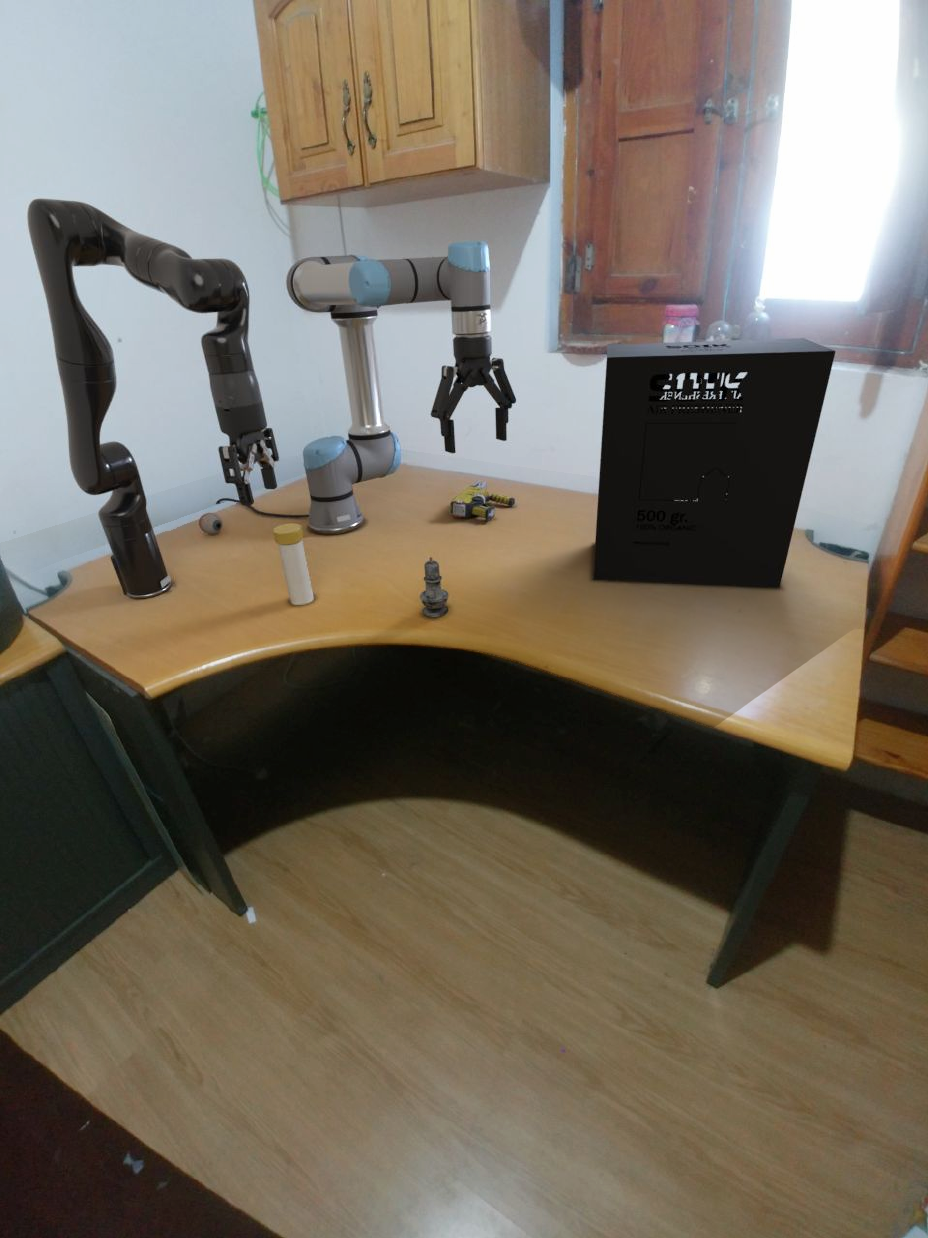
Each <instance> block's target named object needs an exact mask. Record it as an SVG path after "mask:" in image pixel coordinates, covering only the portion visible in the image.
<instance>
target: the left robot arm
mask: <svg viewBox="0 0 928 1238" xmlns="http://www.w3.org/2000/svg"><path fill="white" fill-rule="evenodd" d="M26 217H27V218H26V219H27V228H28V234H29V238H30V242H31V245H32V251H33V254H34V257H35V258H34V259H35V261H36V265H37V269H38V274H39V276H40V281H41V284H42V288H43V292H44V296H45V299H46V304H47V310H48V315H49V316H48V317H49V321H50V327H51V332H52V339H53V346H54V352H55V359H56V365H57V370H58V377H59V380H60V386H61V391H62V395H63V402H64V403H63V404H64V409H65V416H66V425H67V441H68V442H67V443H68V444H67V445H68V456H69V459H68V460H69V463H70V464H69V465H70V470H71V473H72V476H73V478H74V480H75V483H76V484H77V486H78V487H79V489H80V490H81V491H83V492H84V493H85V494H87V495H90V496H100V495H105V494H106V493H110V492H111V495H110V497H109V499H108V500H107V501H106V502H105V504H103V505H102V506H101V507H100V509H99V510H98V513H97V514H98V518H99V521H100V524H101V527H102V529H103V532H104V535H105V537H106V540H107V542H108V545H109V547H110V550H111V553H112V555H110V561H111V563H112V566H113V568H114V571H115V574H116V577H117V580H118V582H119V585H120V587H121V590H122V593H123V595H125V596H127V597H129V598H130V599H133V600H134V599H135V600H143V599H149V598H154V597H157V596H160V595H162V594H164V593H165V592H167V591H169V590H170V589H171V588H172V582H171V581H172V579H171V576H170V574H168V571H167V568H166V565H165V562H164V558H163V555H162V552H161V549H160V546H159V543H158V541H157V537H156V534H155V532H154V528H153V526H152V522H151V519H150V516H149V513H148V510H147V505H148V504H147V497H146V494H145V490H144V487H143V482H142V479H141V475H140V472H139V468H138V467H139V466H138V465H137V462H136V459H135V457H134V456H133V454H132V453H131V451H130V450H129V448H128V447H127V446H126V445H125V444H123V443H122V442H119V441H115V440H113V441H107V442H103V443H101V430H102V427H103V426H102V425H103V423H104V421H105V419H106V416H107V414H108V411H109V409H110V407H111V404H112V401H113V399H114V397H115V394H116V391H117V383H118V381H117V372H116V362H115V354H114V350H113V347H112V344H111V342H110V341H109V339H108V337H107V336H106V334H105V333H104V332H103V330H102V329H101V328H100V326H99V325H98V324H97V323H96V321H95V320H94V319H93V318H92V316H91V315H90V314H89V312H88V311H87V309H86V307H85V306H84V304H83V303H82V301H81V299H80V296H79V293H78V290H77V286H76V282H75V279H74V278H75V277H74V271H73V270H74V268H73V267H97V266H103V265H106V266H115V267H121V268H123V269H124V270H125V271H126V273H128V275H129V276H130V277H131V278H132V279H134V280H135V281H136V282H138V283H140V284H141V285H143V286H145V287H147V288H150V289H152V290H154V291H157V292H159V293H162V294H165V295H167V296H168V297H169V298H170V299H172V301H174V302H175V303H176V304H178V305H179V306H180V307H182V309H185V310H187V311H189V312H193V313H197V314H214V313H216V324H215V326H214V328H212V329H210V330H208V331H206V332H204V333H203V334H202V335H201V337H200V345H201V349H202V354H203V358H204V361H205V362H204V363H205V366H206V370H207V373H208V380H209V388H210V392H211V398H212V401H213V406H214V410H215V413H216V417H217V422H218V425H219V430H220V432H221V433H223V434H225V435H227V436H228V440H229V445H220V446H218V450H217V451H218V455H219V459H220V463H221V464H220V465H221V468H222V473H223V478H224V482H225V484H233V485H234V486H235V488H236V492H237V496H238V500H240V503H239V504H241V506H246V505H251V506H252V505H253V504H255V500H254V495H253V491H252V487H251V483H250V474H251V472H252V471H253V470H254V465H255V464H256V463H257V464H258V466H259V467H260V473H261V477H262V478H261V479H262V482H263V487H264V489H266V490H275V489H277V488H278V483H277V478H276V477H277V476H276V473H275V469H274V468H275V467H276V462H279V460H280V455H279V451H278V447H277V443H276V439H275V433H274V430H273V428H272V427H268V422H267V417H266V411H265V407H264V402H263V398H262V393H261V388H260V384H259V380H258V378H257V377H258V376H257V375H256V372H255V369H254V363H253V358H252V353H251V349H250V345H249V331H250V288H249V285H248V284H249V283H248V282H247V279H246V276H245V274H244V272H243V271H242V269H241V268H240V266H239V265H238V264H236V262H234V261H233V260H231V259H228V258H193V257H192V256H191V255H190V254H189V253H188V252H186V251H185V250H184V249H183V248H181V247H178V246H176V245H173V244H171V243H168V242H166V241H163V240H160V239H157V238H154V237H152V236H149V235H145V234H143V233H139V232H138V231H135V230H134V229H132V228H130V227H128V226H126V225H125V224H123V223H122V222H120V221H117V220H116V219H115V218H114V217H112V216H110V215H108V214H107V213H105V212H104V211H102V210H100V209H99V208H98V207H95V206H94V205H91V204H89V203H86V202H83V201H78V200H65V199H55V198H53V199H52V198H34V199H32V200H31V201H30V202H29V204H28V207H27V216H26ZM269 449H270V450H269ZM231 470H232V474H231Z"/></svg>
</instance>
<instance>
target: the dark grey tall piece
mask: <svg viewBox="0 0 928 1238" xmlns="http://www.w3.org/2000/svg"><path fill="white" fill-rule="evenodd" d="M423 567H424V577H423V581H424V582H425V590H424V591H422V592H421V593H420V594H419V599H420V600H421V603H422V605H423V606H424V608H422V614H423V615H424V616H426V617H429V618H438V617H442V616H444V615H446V614H448V612H449V607H448V606H447V605H446V603H447V602H448V598H449V595H450V594H449V592H448V591H447V590H445V589H443V588H442V582H441V581H442V579H443V577H442V575H441V574H440V564H439V562H438V561H437V560H434V559H433V557H432V556H430V557H429V559H428V561H426V562H425V563H424V566H423Z"/></svg>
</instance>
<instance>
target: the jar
mask: <svg viewBox="0 0 928 1238" xmlns="http://www.w3.org/2000/svg"><path fill="white" fill-rule="evenodd" d="M277 546H278V551H279V555H280V556H279V557H280V560H281V564H282V570H283V573H284V578H285V582H286V588H287V591H288V596H289V601H290V603H291V604H292V605H294V606H303V605H308V604H310V603H312V602H313V601H314V599H315V598H314V594H313V593H314V592H313V587H312V582H311V578H310V577H311V576H310V573H309V567H308V561H307V557H306V553H305V547H304V542H303V539H302V540H301V541H299V542H297V543H294V544H289V545H281V544H277Z"/></svg>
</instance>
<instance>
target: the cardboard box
mask: <svg viewBox="0 0 928 1238" xmlns="http://www.w3.org/2000/svg"><path fill="white" fill-rule="evenodd" d="M835 356H836V350H834V349H831V348H829V347H827V346H824V345H821V344H819V343H816V342H814V341H812V340H810V339H806V338H804V337H799V338H798V337H797V338H796V337H795V338H794V337H793V338H767V339H766V338H765V339H737V340H736V339H735V340H732V339H731V340H707V341H705V340H703V341H675V342H672V341H671V342H670V341H669V342H648V343H647V342H646V343H645V342H644V343H643V342H642V343H639V342H638V343H613V344H612V343H611V344H609V343H607V349H606V363H605V364H606V365H605V367H606V368H605V381H604V396H603V411H602V412H603V413H602V429H601V444H600V445H601V446H600V461H599V477H598V479H599V480H598V494H597V507H596V508H597V509H596V511H597V512H596V523H595V524H596V525H595V538H594V539H595V540H594V559H593V561H594V562H593V579H592V580H595V581H612V582H613V581H616V582H617V581H618V582H636V583H638V582H639V583H660V584H661V583H662V584H680V585H681V584H682V585H683V584H684V585H706V586H726V587H727V586H729V587H748V588H749V587H750V588H751V587H752V588H770V589H771V588H772V589H780V588H781V583H782V579H783V575H784V571H785V567H786V562H787V558H788V554H789V550H790V545H791V542H792V539H793V538H792V537H793V533H794V529H795V524H796V521H797V516H798V512H799V507H800V505H801V504H800V503H801V499H802V495H803V491H804V488H805V487H804V486H805V483H806V478H807V475H808V474H807V473H808V469H809V465H810V461H811V457H812V452H813V450H814V449H813V448H814V444H815V441H816V437H817V431H818V428H819V423H820V420H821V415H822V410H823V407H824V402H825V398H826V393H827V389H828V385H829V381H830V377H831V372H832V368H833V365H834V360H835ZM741 373H746V374H745V375H744V377H741V378H738V376H739V374H741ZM682 374H684V378H683V381H682V385H681V386H682V388H678V385H679V384H678V383H679V379H678V377H679V376H680V375H682ZM692 374H696V378H695V379H694V378H691V376H692ZM706 374H707V378H705V375H706ZM723 375H724V376H723ZM727 377H729V378H728V381H727V382H728V385H729V384H731V385H732V384H738V385H737V387H727V385H726V379H727ZM722 379H723V380H722ZM694 384H696V385H697V384H698V387H695V388H694ZM708 384H713V388H712V387H711V388H710V387H709V388H708ZM666 386H668V387H669V388H665V387H666Z"/></svg>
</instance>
